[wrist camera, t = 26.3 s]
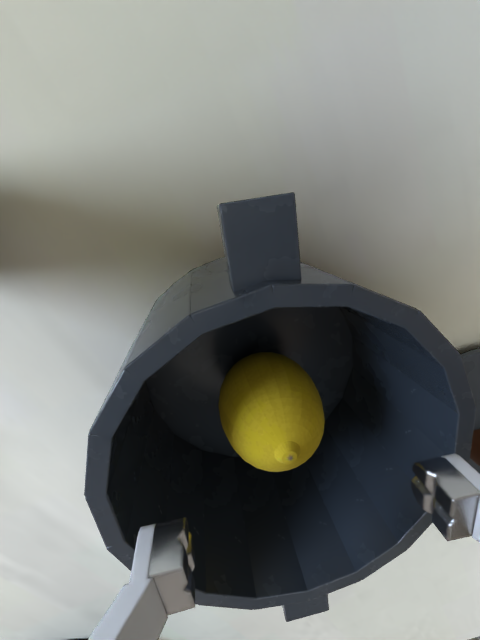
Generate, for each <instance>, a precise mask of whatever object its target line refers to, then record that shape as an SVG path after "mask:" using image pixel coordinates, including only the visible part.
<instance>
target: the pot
mask: <svg viewBox="0 0 480 640" xmlns="http://www.w3.org/2000/svg"><path fill="white" fill-rule="evenodd" d="M217 210H218V216H219V222H220V228H221V235H222V241H223V247H224V253H225V257H224V258H220V259H217V260H214V261H212V262H209V263H206V264H204V265H202V266H200V267H198V268H195V269H193V270H191V271H190V272H189V273H187V274H186V275H185V276H183V277H182V278H181V279H179V280H178V281H177V282H175V283H174V284H173V285H172V286H171V287H170V288H169V289H168V290H167V291H166V292H165V293H164V294H162V295H161V296H160V297H159V298H158V299H157V300H156V302H155V303H154V305H153V307H152V309H151V311H150V313H149V314H148V316H147V318H146V320H145V322H144V324H143V325H142V327H141V329H140V331H139V333H138V335H137V336H136V338H135V340H134V342H133V344H132V346H131V348H130V350H129V352H128V354H127V356H126V358H125V360H124V362H123V364H122V366H121V368H120V370H119V372H118V375H117V377H116V379H115V381H114V383H113V385H112V387H111V389H110V391H109V393H108V395H107V397H106V399H105V401H104V403H103V405H102V407H101V409H100V411H99V413H98V415H97V417H96V419H95V421H94V423H93V425H92V427H91V429H90V432H89V434H88V448H87V462H86V477H85V492H84V495H85V499H86V501H87V503H88V506H89V508H90V510H91V513H92V515H93V517H94V520H95V522H96V524H97V527H98V529H99V531H100V534H101V536H102V539H103V541H104V543H105V546H106V547H107V550H108V551H109V552H110V553H112V554H113V555H114V556H115V557H116V558H117V559H118V560H119V561H120V562H122V563H123V564H124V565H125V566H126V567H127V568H128V569H129V570H130V571H132V565H133V559H134V554H135V548H136V542H137V536H138V532H139V530H140V527H143V526H147V525H152V524H156V523H161V522H166V521H171V520H176V519H181V518H186V517H187V520H188V523H189V532H190V533H191V534H192V537H193V542H194V551H195V568H194V569H193V571H192V573H193V576H194V580H195V604H198V605H204V606H215V607H227V608H238V609H249V610H253V609H254V610H255V609H262V608H268V607H275V606H281V605H282V606H283V611H284V615H285V619H286V622H288V621H292V620H295V619H299V618H303V617H306V616H310V615H313V614H317V613H321V612H324V611H328V610H329V605H328V593H331V592H333V591H336V590H338V589H341V588H344V587H346V586H349V585H351V584H354V583H356V582H359V581H361V580H363V579H365V578H366V577H368V576H369V575H371V574H372V573H373V572H375V571H376V570H378V569H379V568H381V567H382V566H384V565H385V564H387V563H388V562H390V561H391V560H393V559H394V558H396V557H397V556H399V555H400V554H402V553H403V552H405V551H406V550H407V549H408V548H409V547H410V546H411V545H412V544H413V543H414V542H415V541H416V540H417V539H418V538H419V537H420V535H421V534H422V533H423V532H424V531H425V530H426V529H427V528H428V527H429V526H430V525H431V523H432V514H430V513H428V512H426V511H425V510H423V509H422V508H421V506H420V505H419V504H418V502H417V500H416V499H415V497H414V494H413V491H412V488H411V481H412V479H413V478H414V476H415V474H414V472H413V471H412V468H413V464H414V463H416V462H420V461H423V460H427V459H431V458H435V457H441V456H445V455H449V454H454V453H455V454H457V455H459V456H461V457H462V458H463V459H464V460H465V461H466V462H467V463H468V462H469V460H470V454H471V446H472V439H473V431H474V423H475V415H476V404H475V401H474V397H473V394H472V391H471V387H470V384H469V380H468V377H467V374H466V370H465V367H464V363H463V360H462V357H461V355H460V353H459V352H458V351H457V350H456V349H455V348H454V347H453V345H452V344H451V343H450V342H449V341H448V340H447V339H446V338H445V337H444V336H443V335H442V334H441V333H440V331H439V330H438V329H437V328H436V327H435V326H434V325H433V324H432V323H431V322H430V321H429V320H428V319H427V317H426V316H425V315H424V314H423V313H422V312H421V311H419V310H417V309H416V308H414V307H411V306H409V305H406V304H404V303H401V302H399V301H396V300H394V299H391V298H389V297H386V296H384V295H381V294H379V293H376V292H374V291H371V290H369V289H367V288H364V287H362V286H359V285H357V284H354V283H352V282H349V281H347V280H344V279H342V278H339V277H337V276H334V275H332V274H329V273H327V272H324V271H322V270H320V269H317V268H315V267H312V266H310V265H307V264H305V263H302V262H300V252H299V240H298V228H297V216H296V204H295V194H294V193H293V192H292V193H286V194H279V195H273V196H266V197H260V198H253V199H247V200H240V201H234V202H228V203H221V204H219V205H217ZM259 352H273V353H277V354H281V355H284V356H286V357H288V358H289V359H291V360H293V361H295V362H296V363H297V364H299V365H300V366H301V367H302V368H303V369H304V371H305V372H306V373H307V374H308V375H309V376H310V377H311V379H312V381H313V383H314V384H315V386H316V388H317V390H318V392H319V395H320V398H321V401H322V406H323V412H324V418H325V422H324V431H323V436H322V439H321V441H320V444H319V446H318V448H317V449H316V451H315V452H314V453H313V455H312V456H311V457H310V458H309V459H308V460H307V461H306V462H304V463H303V464H301V465H300V466H298V467H296V468H293V469H291V470H288V471H281V472H269V471H265V470H261V469H258V468H256V467H254V466H252V465H251V464H249V463H247V462H246V461H244V460H243V459H242V458H241V457H240V455H239V454H238V453H237V452H236V451H235V450H234V449H233V447H232V446H231V444H230V442H229V440H228V438H227V436H226V434H225V432H224V430H223V427H222V424H221V420H220V413H219V396H220V389H221V386H222V383H223V381H224V378H225V376H226V374H227V373H228V372H229V370H230V369H231V368H232V367H233V365H235V364H236V363H237V362H238V361H239V360H241V359H242V358H244V357H246V356H249V355H251V354H255V353H259Z"/></svg>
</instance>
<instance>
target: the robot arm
mask: <svg viewBox="0 0 480 640" xmlns="http://www.w3.org/2000/svg"><path fill="white" fill-rule="evenodd" d="M412 471H413V472H414V474H415V476H414V478H413V479H412V481H411V488H412V491H413V494H414V497H415V499H416V500H417V502H418V504H419V505H420V506H421V508H422V509H423V510H425V511H426V512H428V513H430V514H432V522H433V523H434V525H435V526H436V527H437V528H438V530H439V531H440V532H441V534H442V535H443V536H444V537H445V539H446V540H447V541H451V540H455V539H460V538H464V537H469V536H472V538H474V539H475V540H477V541H478V542H480V474H479V473H478V472H477V471H476V470H475V469H474V468H473V467H472V466H470V465H469V464H468V463H467V462H466V461H465V460H464V459H463V458H462V457H461V456H459V455H457V454H455V453H454V454H449V455H445V456H441V457H435V458H431V459H427V460H423V461H420V462H416V463H414V464H413V468H412ZM194 568H195V551H194V542H193V537H192V534H191V533H190V532H189V523H188V520H187V517H186V518H181V519H176V520H171V521H166V522H161V523H156V524H152V525H147V526H143V527H140V530H139V532H138V536H137V542H136V548H135V554H134V559H133V565H132V571H131V576H130V582H129V584H125V585H124V586H123V588H122V589H121V591H120V592H119V594H118V595H117V597H116V598H115V600H114V601H113V603H112V604H111V606H110V607H109V609H108V610H107V612H106V613H105V615H104V616H103V618H102V619H101V621H100V622H99V624H98V625H97V627H96V628H95V630H94V631H93V633H92V634H91V636H90V637H89V639H88V640H158V639H159V636H160V634H161V632H162V630H163V627H164V625H165V623H166V621H167V618H168V617H167V615H171V614H174V613H177V612H181V611H184V610H188V609H191V608H194V607H195V580H194V576H193V573H192V571H193V569H194ZM469 640H480V636H479V637H476V638H472V639H469Z"/></svg>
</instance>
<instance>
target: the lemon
mask: <svg viewBox="0 0 480 640" xmlns="http://www.w3.org/2000/svg"><path fill="white" fill-rule="evenodd" d="M219 413H220V420H221V424H222V427H223V430H224V432H225V434H226V436H227V438H228V440H229V442H230V444H231V446H232V447H233V449H234V450H235V451H236V452H237V453H238V454H239V455H240V457H241V458H242V459H243V460H244V461H246V462H247V463H249V464H251V465H252V466H254V467H256V468H258V469H261V470H265V471H269V472H281V471H288V470H291V469H293V468H296V467H298V466H300V465H301V464H303V463H304V462H306V461H307V460H308V459H309V458H310V457H311V456H312V455H313V453H314V452H315V451H316V449H317V448H318V446H319V444H320V441H321V439H322V436H323V431H324V422H325V418H324V412H323V406H322V401H321V398H320V395H319V392H318V390H317V388H316V386H315V384H314V383H313V381H312V379H311V377H310V376H309V375H308V374H307V373H306V372H305V371H304V369H303V368H302V367H301V366H300V365H299V364H297V363H296V362H295V361H293V360H291V359H289V358H288V357H286V356H284V355H281V354H277V353H273V352H259V353H255V354H251V355H249V356H246V357H244V358H242V359H241V360H239V361H238V362H237V363H236V364H235V365H233V367H232V368H231V369H230V370H229V372H228V373H227V374H226V376H225V378H224V381H223V383H222V386H221V389H220V396H219Z"/></svg>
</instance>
